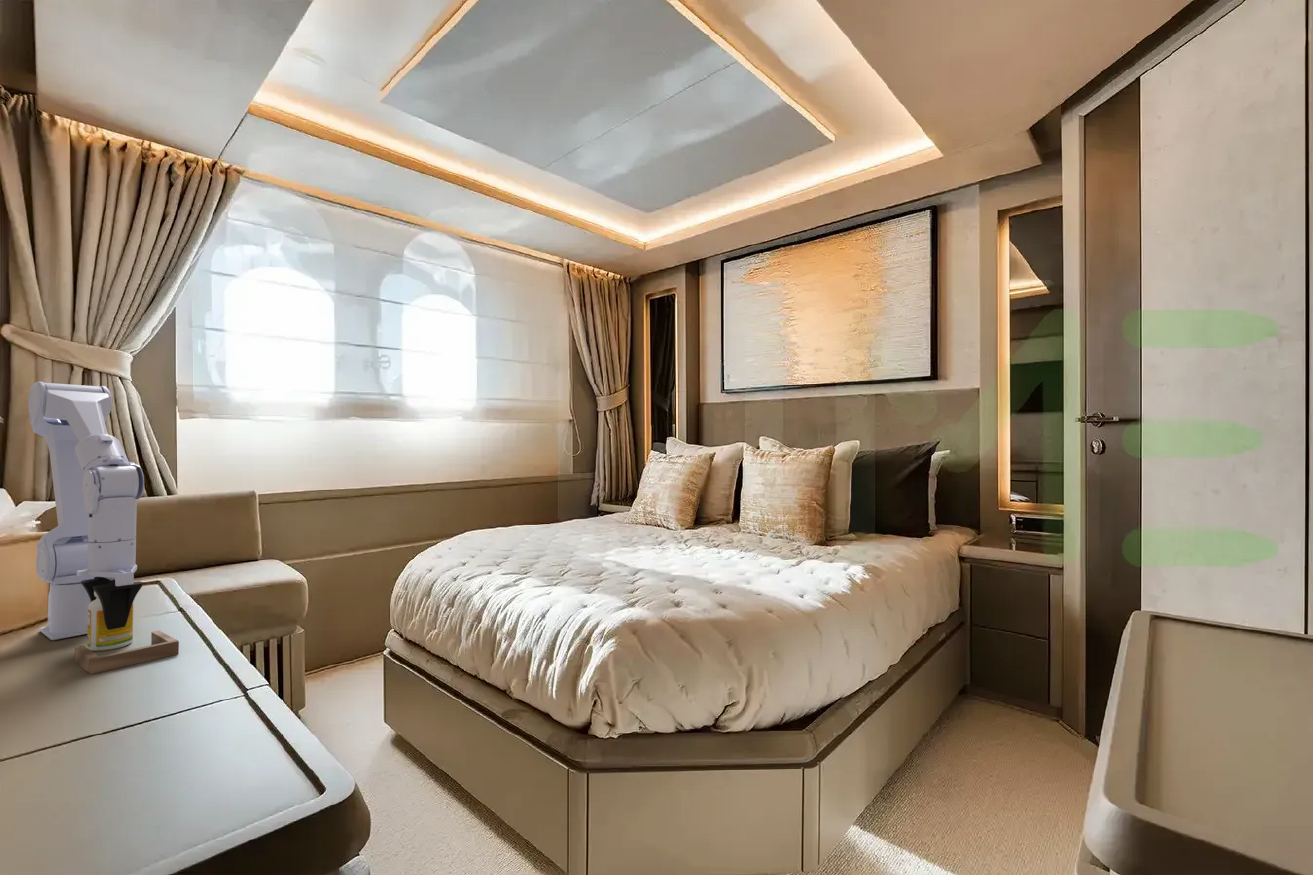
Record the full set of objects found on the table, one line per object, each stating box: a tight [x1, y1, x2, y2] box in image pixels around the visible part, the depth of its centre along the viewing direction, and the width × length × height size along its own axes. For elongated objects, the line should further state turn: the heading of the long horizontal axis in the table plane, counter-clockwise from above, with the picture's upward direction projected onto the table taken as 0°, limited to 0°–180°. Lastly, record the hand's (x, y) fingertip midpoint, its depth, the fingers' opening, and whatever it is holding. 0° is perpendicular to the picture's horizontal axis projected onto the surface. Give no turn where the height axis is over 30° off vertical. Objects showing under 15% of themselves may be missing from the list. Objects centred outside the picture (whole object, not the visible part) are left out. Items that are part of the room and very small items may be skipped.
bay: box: [74, 630, 180, 675], centre depth 89 cm, size 9×10×2 cm
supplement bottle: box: [86, 591, 134, 652], centre depth 95 cm, size 5×5×10 cm
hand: (110, 624), depth 95 cm, fingers closed on supplement bottle, 5 cm apart
